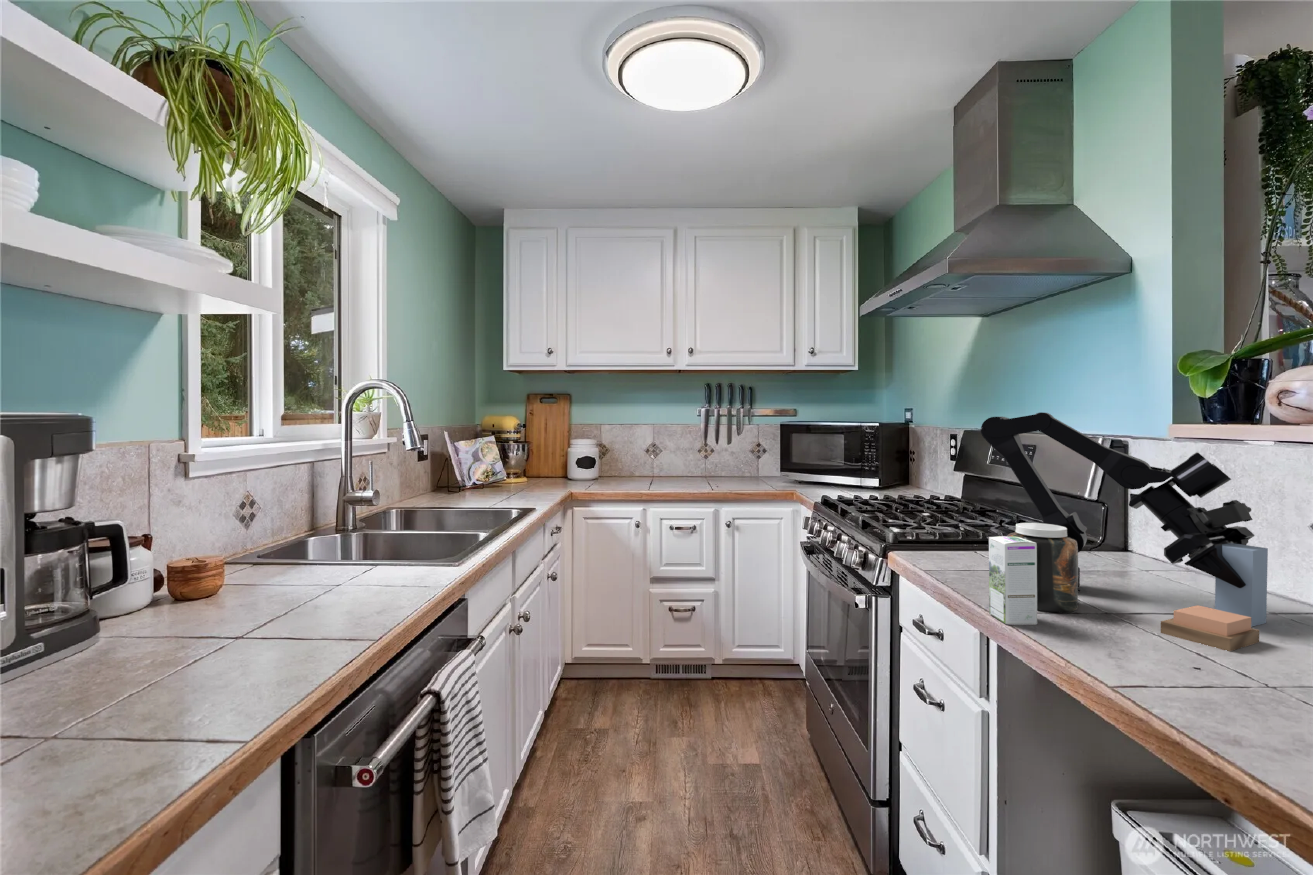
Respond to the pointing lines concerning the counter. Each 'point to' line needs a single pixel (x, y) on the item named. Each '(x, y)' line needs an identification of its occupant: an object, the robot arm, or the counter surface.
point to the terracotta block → (1212, 620)
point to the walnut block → (1210, 636)
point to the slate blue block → (1254, 574)
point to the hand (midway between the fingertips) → (1251, 584)
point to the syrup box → (1013, 580)
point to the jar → (1053, 565)
